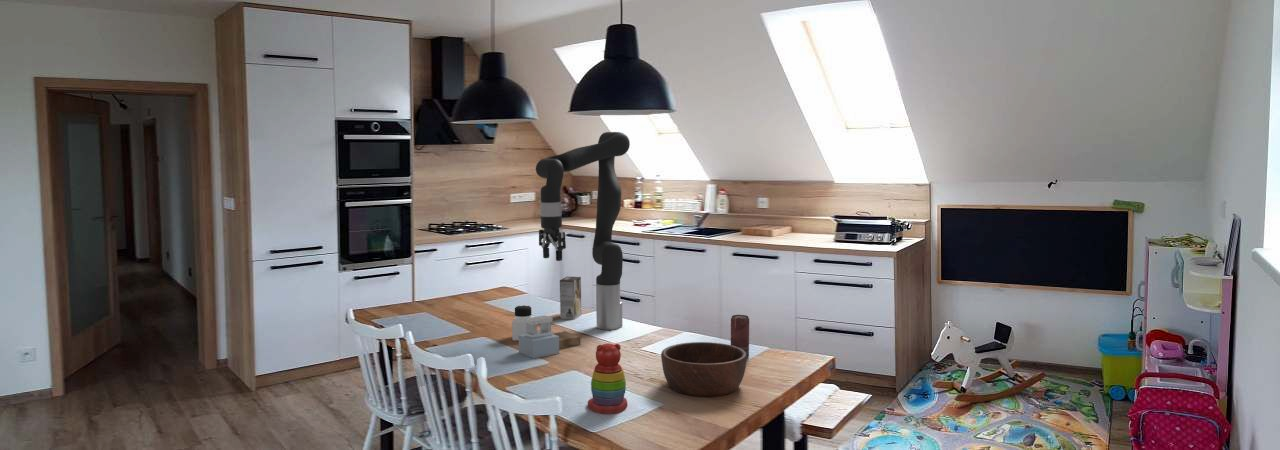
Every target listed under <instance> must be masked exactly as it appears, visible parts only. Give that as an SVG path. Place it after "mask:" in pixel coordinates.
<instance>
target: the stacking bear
mask: <svg viewBox="0 0 1280 450" xmlns="http://www.w3.org/2000/svg"><path fill="white" fill-rule="evenodd" d="M621 356H622V353H621V345H620V344H619V343H615V344H614V343H603V344H597V346H596V350H595V359H596V362H597V364H596V365H595V366H594V369H593V372H592V377H591V381H590V389H591V395H592V397H591V398H590V399H589V400H588V401H587V408H589V410H591V411H592V410H593V411H592V412H595V413H598V414H602V413H603V414H602V415H612V414H618V413H621V412H623V411H625V410H626V409H627V407H628V400H627V398H626V397H625V393H626V389H627V387H626V385H627V383H626V382H627V381H626V378H625V377H626V376H625V372H624V370H623V367H622V365H621V364H619V363H620V360H621V358H622V357H621Z"/></svg>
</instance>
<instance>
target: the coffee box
mask: <svg viewBox="0 0 1280 450" xmlns="http://www.w3.org/2000/svg"><path fill="white" fill-rule="evenodd" d="M581 278H582V276H565V277H563V278H562V279H560V280H559V307H560V308H559V310H560V315H559V316H560V319H561V320H563V319H564V320H576V319H577V318H579V317H580V316H581V315H582V279H581ZM575 318H576V319H575Z"/></svg>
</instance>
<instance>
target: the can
mask: <svg viewBox="0 0 1280 450" xmlns="http://www.w3.org/2000/svg"><path fill="white" fill-rule="evenodd" d="M730 345H732V346H735V347H738V348H740V349H742V350H744V351H745V352H746V354H747V359H749V357H750V318H749V316H748V315H745V314H734V315H731V317H730Z"/></svg>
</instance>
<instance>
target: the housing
mask: <svg viewBox="0 0 1280 450" xmlns="http://www.w3.org/2000/svg"><path fill="white" fill-rule="evenodd" d="M524 321H525V323H526V332H525V336H526V337H529V338H531V339H535V338H540V337H546V336H551V335H553V331H552V322H553V317H550V316H547V315H540V316H532V318H526V319H524ZM539 324H540V329H537V328H538V325H539Z"/></svg>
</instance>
